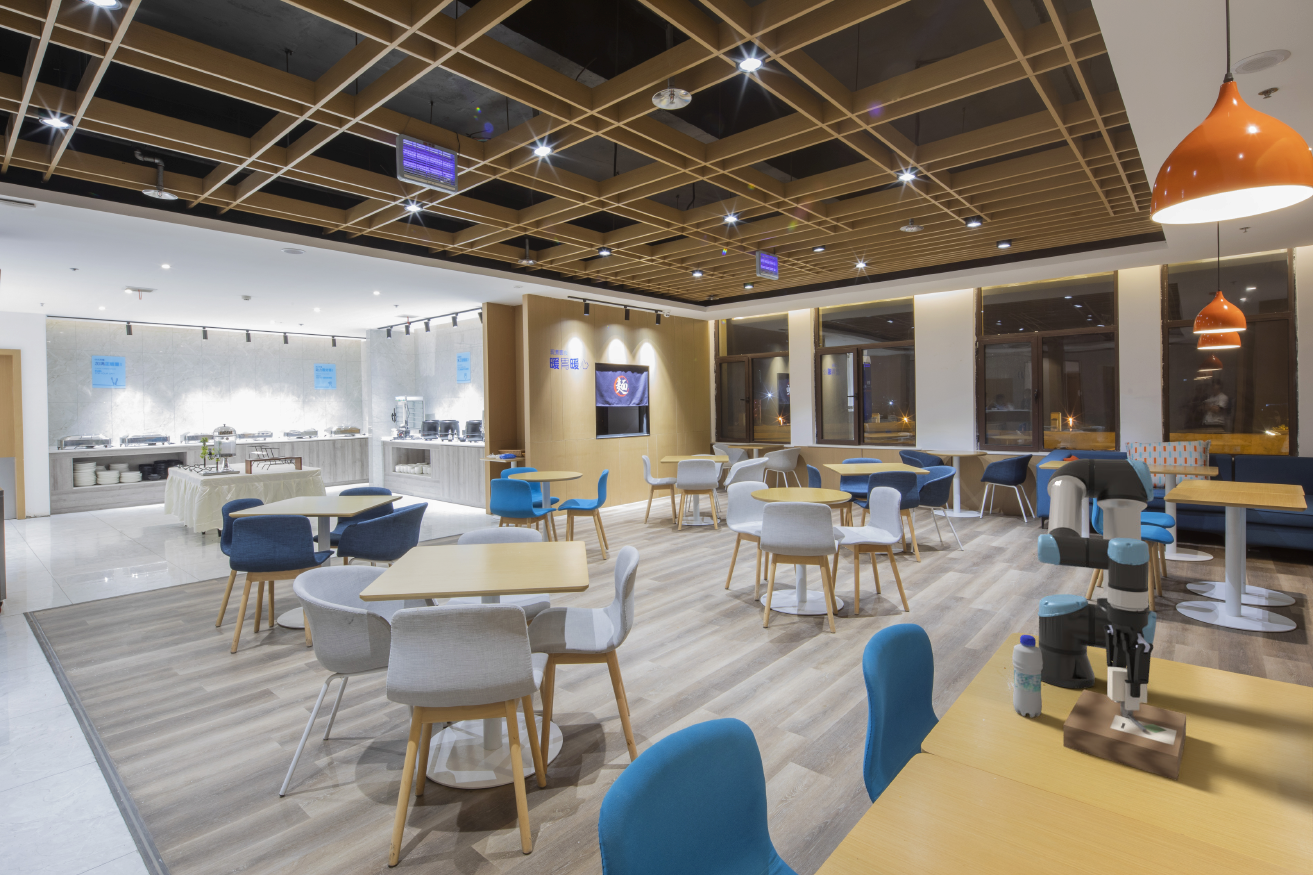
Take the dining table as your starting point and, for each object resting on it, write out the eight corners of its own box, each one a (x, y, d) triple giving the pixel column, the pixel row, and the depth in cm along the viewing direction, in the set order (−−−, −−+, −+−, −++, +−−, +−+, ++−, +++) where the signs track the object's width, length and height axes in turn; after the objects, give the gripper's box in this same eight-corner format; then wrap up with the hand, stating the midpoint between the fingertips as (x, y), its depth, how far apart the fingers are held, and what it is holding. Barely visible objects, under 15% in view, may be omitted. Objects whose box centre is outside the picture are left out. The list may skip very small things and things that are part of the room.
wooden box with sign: (1063, 745, 142) (1063, 724, 142) (1083, 708, 159) (1083, 689, 159) (1177, 780, 128) (1177, 756, 128) (1185, 735, 146) (1186, 713, 145)
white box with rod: (1126, 730, 138) (1126, 682, 138) (1107, 711, 147) (1107, 666, 147) (1163, 733, 137) (1163, 685, 136) (1141, 714, 145) (1141, 668, 145)
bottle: (1034, 707, 161) (1034, 630, 160) (1048, 719, 154) (1048, 640, 153) (1007, 706, 161) (1007, 630, 161) (1019, 719, 155) (1019, 639, 154)
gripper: (1171, 617, 136) (1169, 722, 137) (1120, 595, 152) (1119, 690, 153) (1135, 617, 136) (1133, 722, 137) (1088, 595, 152) (1088, 690, 153)
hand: (1126, 705), depth 145 cm, fingers closed on white box with rod, 3 cm apart
